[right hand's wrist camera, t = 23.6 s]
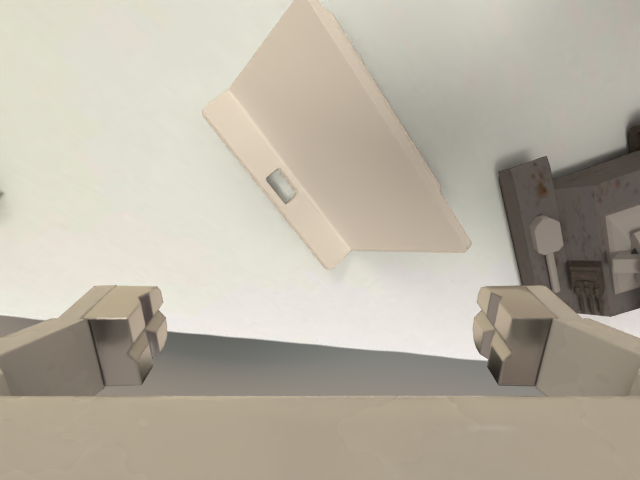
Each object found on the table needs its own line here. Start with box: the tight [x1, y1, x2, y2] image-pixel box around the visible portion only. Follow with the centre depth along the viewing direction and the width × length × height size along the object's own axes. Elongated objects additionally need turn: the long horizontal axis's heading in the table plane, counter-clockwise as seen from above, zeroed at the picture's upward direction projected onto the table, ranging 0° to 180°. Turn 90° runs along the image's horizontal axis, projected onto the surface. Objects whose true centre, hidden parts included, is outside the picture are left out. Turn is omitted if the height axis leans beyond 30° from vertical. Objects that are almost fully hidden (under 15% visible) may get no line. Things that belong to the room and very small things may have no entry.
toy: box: [499, 124, 640, 317], centre depth 45 cm, size 25×20×15 cm
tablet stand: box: [202, 0, 472, 269], centre depth 41 cm, size 18×25×17 cm
